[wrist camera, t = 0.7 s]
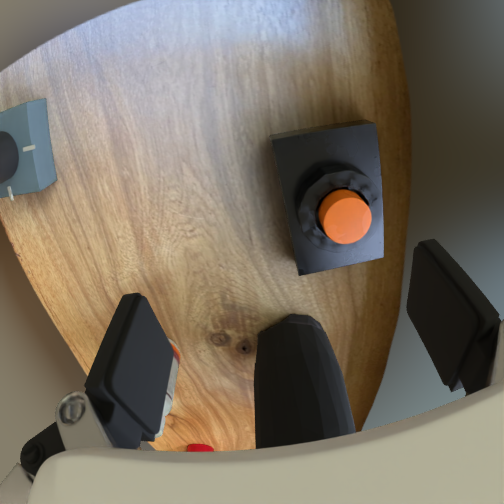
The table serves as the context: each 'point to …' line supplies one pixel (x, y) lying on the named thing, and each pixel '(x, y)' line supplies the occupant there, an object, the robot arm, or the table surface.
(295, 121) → the table surface
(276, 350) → the portable speaker
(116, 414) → the robot arm
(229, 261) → the table surface
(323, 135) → the button block
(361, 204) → the button
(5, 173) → the dial
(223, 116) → the table surface
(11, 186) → the panel
